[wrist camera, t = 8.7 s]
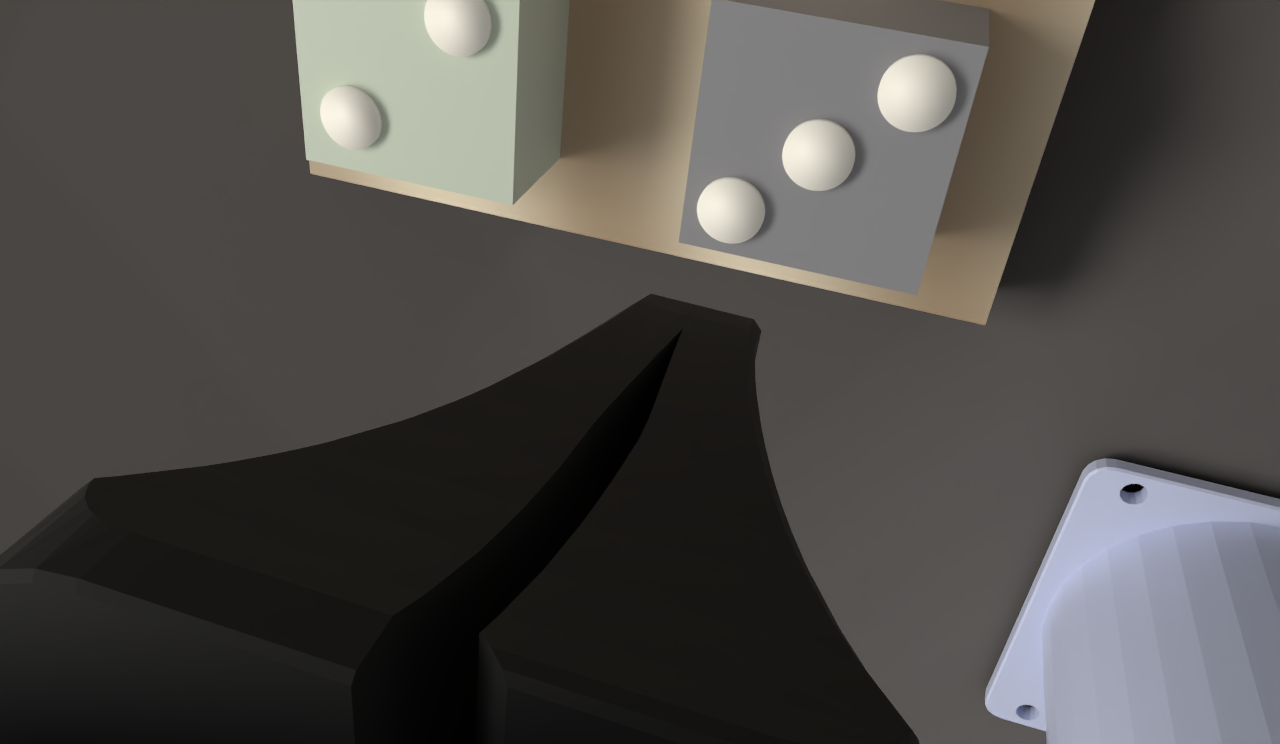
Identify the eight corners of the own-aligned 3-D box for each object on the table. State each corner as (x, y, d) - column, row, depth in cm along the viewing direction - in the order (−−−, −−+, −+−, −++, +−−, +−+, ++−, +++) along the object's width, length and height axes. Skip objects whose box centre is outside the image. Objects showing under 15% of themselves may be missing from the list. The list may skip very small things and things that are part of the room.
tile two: (573, -62, 17) (517, -35, 15) (559, 157, 20) (508, 208, 18) (361, -99, 18) (280, -76, 16) (372, 119, 20) (302, 162, 18)
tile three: (988, 9, 16) (988, 49, 14) (924, 235, 18) (916, 299, 16) (743, -34, 17) (709, 0, 15) (710, 190, 19) (676, 246, 17)
